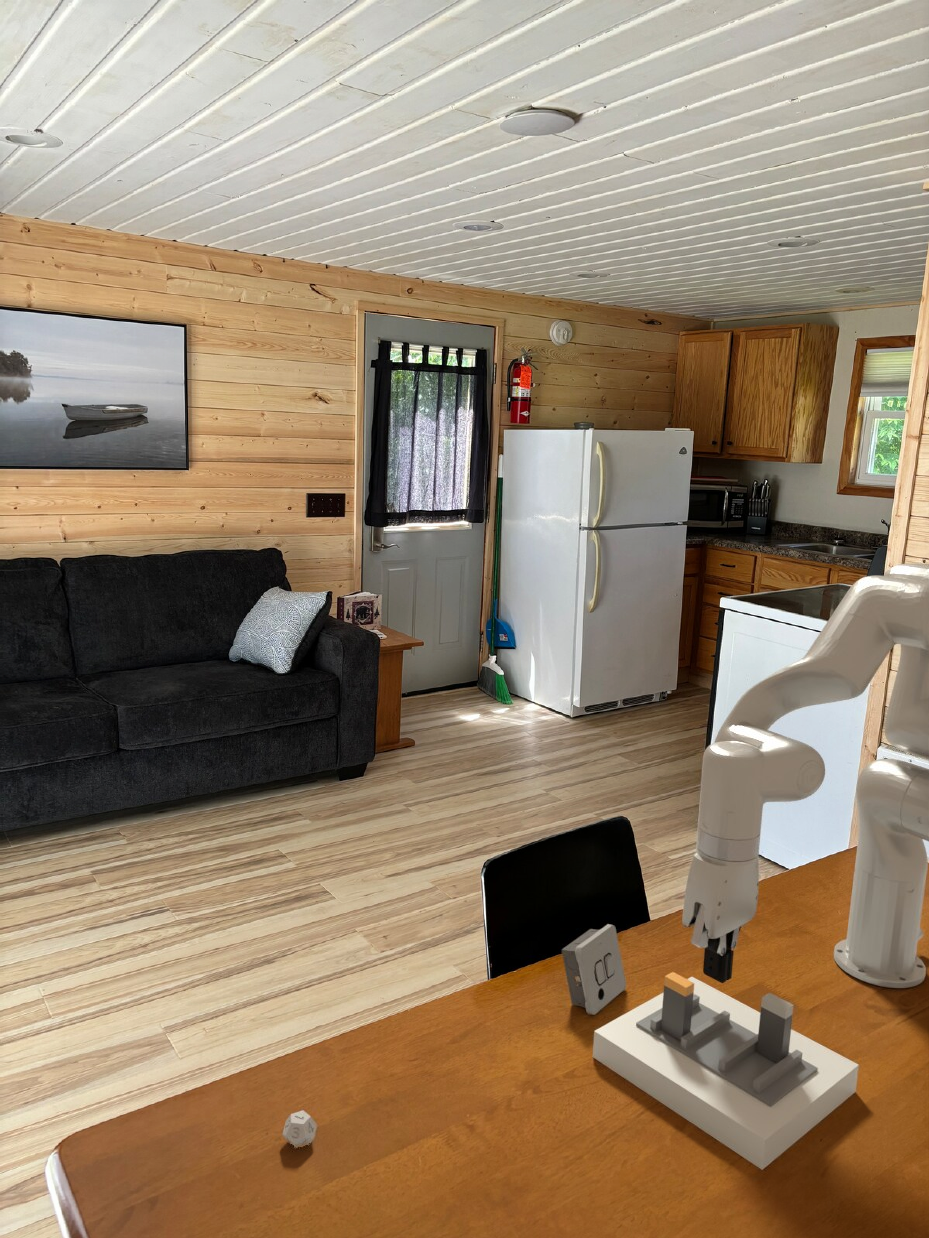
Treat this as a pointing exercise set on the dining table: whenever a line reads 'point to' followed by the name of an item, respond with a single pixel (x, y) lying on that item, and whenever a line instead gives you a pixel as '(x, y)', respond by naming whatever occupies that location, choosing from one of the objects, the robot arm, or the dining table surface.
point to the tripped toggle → (677, 1005)
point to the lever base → (731, 1070)
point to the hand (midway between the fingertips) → (716, 976)
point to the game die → (299, 1128)
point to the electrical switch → (594, 969)
